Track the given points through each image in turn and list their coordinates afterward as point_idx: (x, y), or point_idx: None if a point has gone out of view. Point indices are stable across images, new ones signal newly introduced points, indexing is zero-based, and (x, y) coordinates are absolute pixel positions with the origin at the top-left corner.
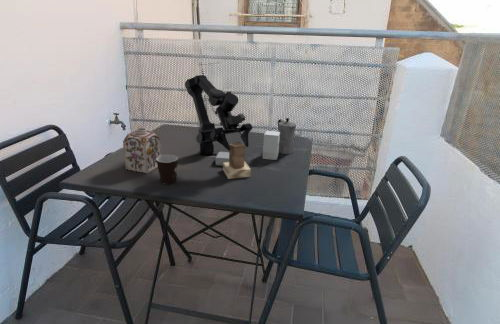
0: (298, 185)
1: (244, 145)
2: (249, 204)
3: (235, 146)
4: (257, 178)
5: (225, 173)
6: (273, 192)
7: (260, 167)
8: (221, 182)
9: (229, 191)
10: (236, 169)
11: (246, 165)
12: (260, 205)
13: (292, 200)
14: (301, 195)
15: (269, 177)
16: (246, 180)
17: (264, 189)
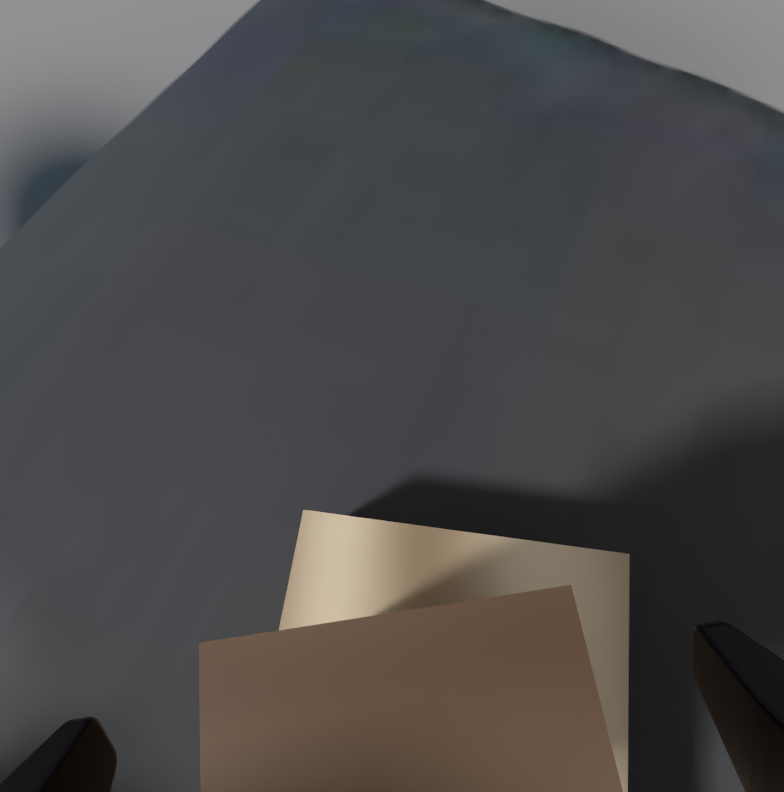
0: (58, 226)
1: (210, 641)
2: (566, 72)
3: (527, 633)
4: (284, 457)
5: None
6: (306, 177)
7: None
8: (711, 498)
9: (669, 283)
10: (492, 575)
11: None
12: (494, 49)
13: (254, 61)
14: (154, 101)
15: (162, 437)
16: (415, 450)
17: (345, 236)
